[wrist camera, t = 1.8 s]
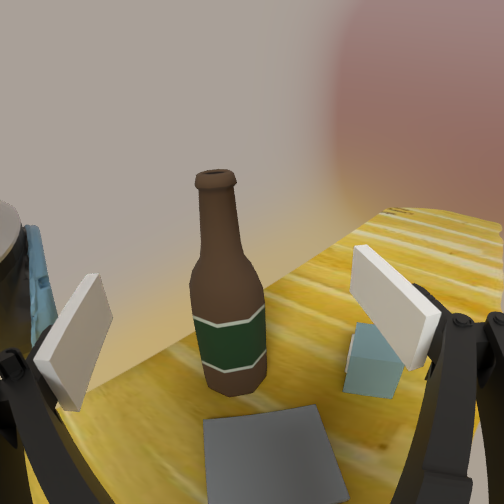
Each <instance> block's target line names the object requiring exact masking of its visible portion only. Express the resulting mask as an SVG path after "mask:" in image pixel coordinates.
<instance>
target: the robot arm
mask: <svg viewBox="0 0 504 504" xmlns="http://www.w3.org/2000/svg"><path fill="white" fill-rule="evenodd" d="M350 293H351V294H352V295H353V297H354V298H355V299H356V300H357V302H358V303H359V304H360V306H361V307H362V308H363V310H364V311H365V312H366V314H367V315H368V316H369V318H370V319H371V320H372V321H373V323H374V324H375V325H376V327H377V328H378V330H379V331H380V332H381V334H382V335H383V336H384V338H385V339H386V340H387V342H388V343H389V344H390V346H391V347H392V348H393V350H394V351H395V353H396V354H397V355H398V357H399V358H400V360H401V361H402V362H403V364H404V365H405V367H406V368H407V369H408V371H411V370H414V369H417V368H420V367H423V366H424V363H425V360H426V358H427V355H428V357H429V358H430V359H431V360H432V362H431V365H430V367H429V370H428V372H427V375H426V377H425V380H427V384H426V388H425V393H424V398H423V402H422V407H421V411H420V415H419V419H418V423H417V426H416V430H415V434H414V437H413V441H412V444H411V447H410V451H409V454H408V457H407V460H406V463H405V466H404V469H403V472H402V475H401V477H400V480H399V483H398V485H397V488H396V491H395V493H394V496H393V498H392V500H391V503H390V504H469V501H470V497H471V492H472V486H473V482H472V478H469V477H467V469H468V464H469V458H470V451H471V444H472V437H473V428H474V417H475V404H476V401H477V406H478V411H479V417H480V422H481V428H482V434H483V441H484V448H485V456H486V466H487V477H488V490H489V491H488V493H489V504H504V313H501V312H491V313H489V314H488V316H487V319H486V322H481V323H474V321H473V320H472V319H471V318H470V317H468V316H467V315H464V314H461V313H454V314H452V313H450V312H449V311H448V310H447V309H446V308H445V307H444V306H443V305H442V304H441V303H440V302H439V301H438V300H435V298H434V297H433V296H432V295H430V293H429V292H428V291H427V290H426V289H424V288H423V287H421V286H419V285H417V284H415V283H413V284H411V283H410V282H409V281H408V280H406V279H405V278H404V277H403V276H402V275H401V274H400V273H399V272H398V271H396V270H395V269H394V268H393V267H392V266H391V265H390V264H389V263H387V262H386V261H385V260H384V259H383V258H382V257H380V256H379V255H378V254H377V253H376V252H375V251H374V250H372V249H371V248H370V247H369V246H368V245H359V246H354V251H353V263H352V274H351V284H350ZM112 319H113V317H112V313H111V310H110V307H109V304H108V301H107V297H106V294H105V291H104V288H103V284H102V281H101V277H100V274H99V273H93V274H87V275H86V276H85V277H84V279H83V280H82V282H81V283H80V284H79V286H78V287H77V289H76V290H75V292H74V293H73V295H72V296H71V298H70V299H69V301H68V302H67V304H66V306H65V307H64V309H63V310H62V312H61V313H60V315H59V317H58V314H57V310H56V306H55V302H54V298H53V294H52V290H51V286H50V283H49V277H48V272H47V267H46V261H45V256H44V250H43V245H42V240H41V235H40V230H39V228H38V227H37V226H35V225H31V226H30V225H25V226H24V227H22V224H21V221H20V217H19V215H18V212H17V210H16V209H15V208H14V207H13V206H12V205H10V204H8V203H6V202H3V201H1V200H0V376H1V378H2V380H0V504H33V502H32V497H31V492H30V487H29V482H28V476H27V470H26V463H25V455H24V449H25V451H26V454H27V456H28V459H29V461H30V464H31V466H32V468H33V471H34V473H35V475H36V477H37V480H38V482H39V484H40V486H41V488H42V490H43V492H44V494H45V496H46V498H47V500H48V502H49V504H115V503H114V501H113V500H112V499H111V497H110V496H109V495H108V493H107V492H106V490H105V489H104V488H103V486H102V485H101V483H100V482H99V481H98V479H97V478H96V476H95V475H94V473H93V472H92V470H91V469H90V467H89V466H88V464H87V462H86V461H85V459H84V458H83V456H82V454H81V453H80V451H79V449H78V448H77V446H76V444H75V443H74V441H73V439H72V437H71V436H70V434H69V432H68V430H67V428H66V427H65V425H64V423H63V421H62V419H61V417H60V415H59V413H58V412H57V410H56V409H55V406H56V404H57V401H58V402H59V404H60V405H61V407H62V408H63V410H65V411H76V412H80V409H81V405H82V402H83V399H84V396H85V393H86V390H87V387H88V384H89V381H90V378H91V375H92V372H93V369H94V366H95V363H96V361H97V358H98V356H99V353H100V350H101V347H102V345H103V342H104V339H105V337H106V334H107V332H108V329H109V327H110V324H111V322H112ZM23 446H24V447H23Z"/></svg>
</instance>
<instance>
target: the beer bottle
mask: <svg viewBox="0 0 504 504" xmlns="http://www.w3.org/2000/svg"><path fill="white" fill-rule="evenodd" d="M236 183H237V182H236V178H235V175H234V173H233V172H232V171H230V170H227V169H216V170H207V171H204V172H200V173H198V174H197V175H196V179H195V187H196V188H197V189H198V190H199V211H200V231H201V251H200V258H199V260H198V261H197V263H196V265H195V267H194V269H193V270H192V274H191V279H190V283H189V287H190V298H191V306H192V314H193V320H194V325H195V330H196V335H197V340H198V345H199V350H200V355H201V360H202V365H203V369H204V374H205V378H206V381H207V384H208V387H209V388H211V389H213V390H215V391H217V392H219V393H221V394H223V395H225V396H228V397H233V396H239V395H244V394H249V393H253V392H254V391H255V389H256V388H257V387H258V386H259V384H260V383H261V382H262V381H263V379H264V378H265V377H266V371H267V356H266V323H265V300H264V292H263V287H262V284H261V282H260V280H259V278H258V275H257V273H256V271H255V270H254V268H253V266H252V264H251V262H250V261H249V260H248V259H247V258H246V256H245V255H244V253H243V249H242V245H241V241H240V232H239V225H238V217H237V210H236V202H235V195H234V187H233V186H234V185H235V184H236Z"/></svg>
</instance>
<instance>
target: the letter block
mask: <svg viewBox="0 0 504 504" xmlns="http://www.w3.org/2000/svg"><path fill="white" fill-rule="evenodd" d="M404 366H405V365H404V364H403V362H402V361H401V360H400V358H399V357H398V355H397V354H396V353H395V351H394V350H393V348H392V347H391V346H390V344H389V343H388V342H387V340H386V339H385V338H384V336H383V335H382V334H381V332H380V331H379V330H378V328H377V327H376V325H373V324H365V323H358V322H357V325H356V331H355V334H352V338H351V343H350V348H349V352H348V357H347V363H346V368H345V373H347V374H346V379H345V383H344V388H343V392H346V393H352V394H359V395H366V396H373V397H380V398H389V399H392V397H393V395H394V392H395V390H396V387H397V385H398V382H399V379H400V377H401V374H402V371H403V368H404Z"/></svg>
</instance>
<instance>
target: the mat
mask: <svg viewBox="0 0 504 504" xmlns="http://www.w3.org/2000/svg"><path fill="white" fill-rule="evenodd" d="M203 429H204V450H205V467H206V482H207V496H208V504H338V503H342V502H345V501H348V500H349V499H350V497H349V494H348V491H347V488H346V486H345V483H344V480H343V477H342V475H341V472H340V469H339V466H338V464H337V461H336V458H335V456H334V453H333V450H332V447H331V445H330V442H329V439H328V437H327V434H326V431H325V428H324V426H323V423H322V420H321V418H320V415H319V412H318V410H317V407H316V404H314V405H309V406H303V407H298V408H293V409H287V410H281V411H275V412H268V413H261V414H254V415H246V416H238V417H228V418H218V419H205V420H203Z"/></svg>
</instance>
